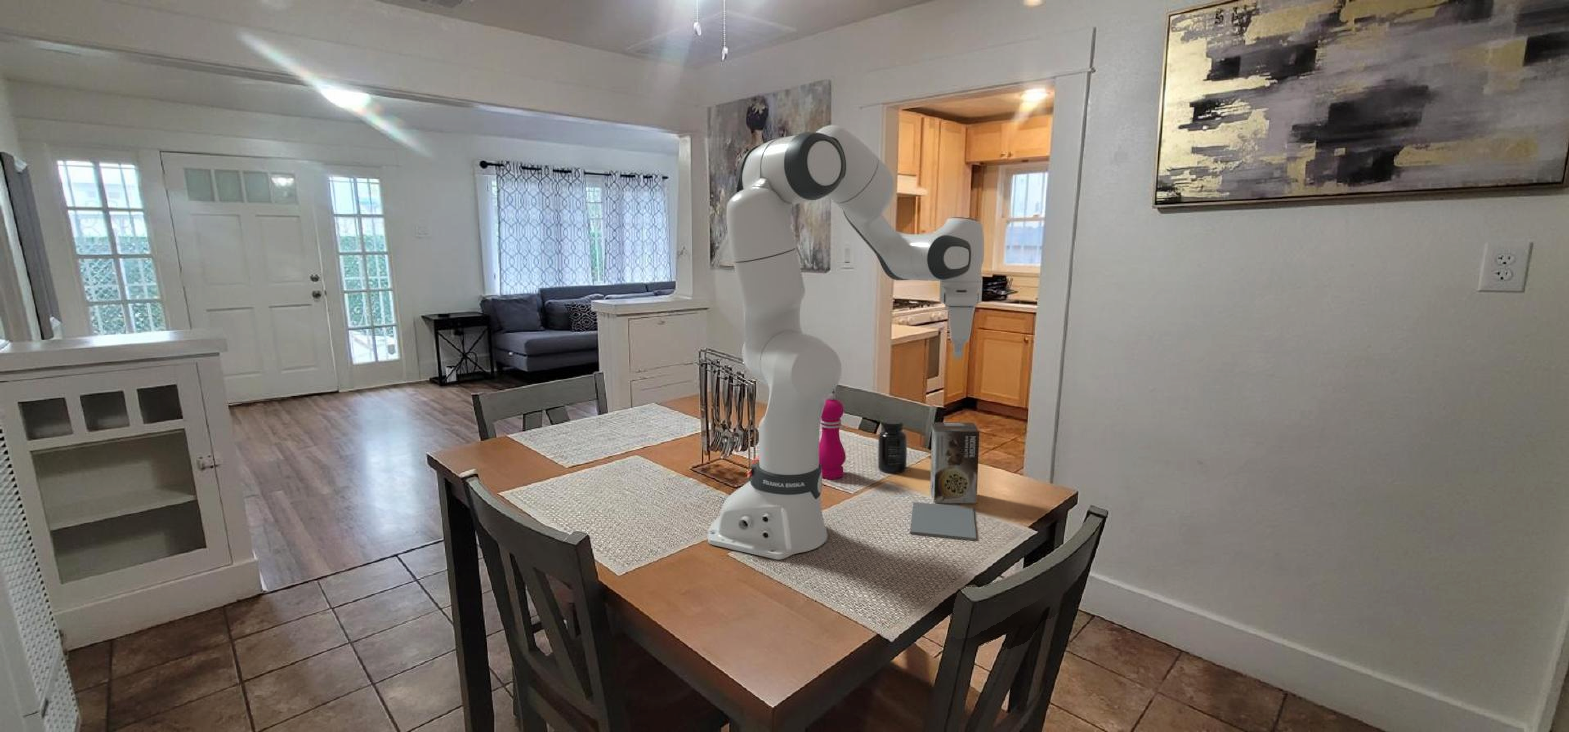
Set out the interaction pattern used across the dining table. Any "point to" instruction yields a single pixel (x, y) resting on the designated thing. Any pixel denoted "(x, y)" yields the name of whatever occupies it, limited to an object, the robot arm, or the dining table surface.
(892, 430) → the supplement bottle
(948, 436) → the coffee box
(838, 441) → the pepper mill
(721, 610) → the dining table surface
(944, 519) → the mat
